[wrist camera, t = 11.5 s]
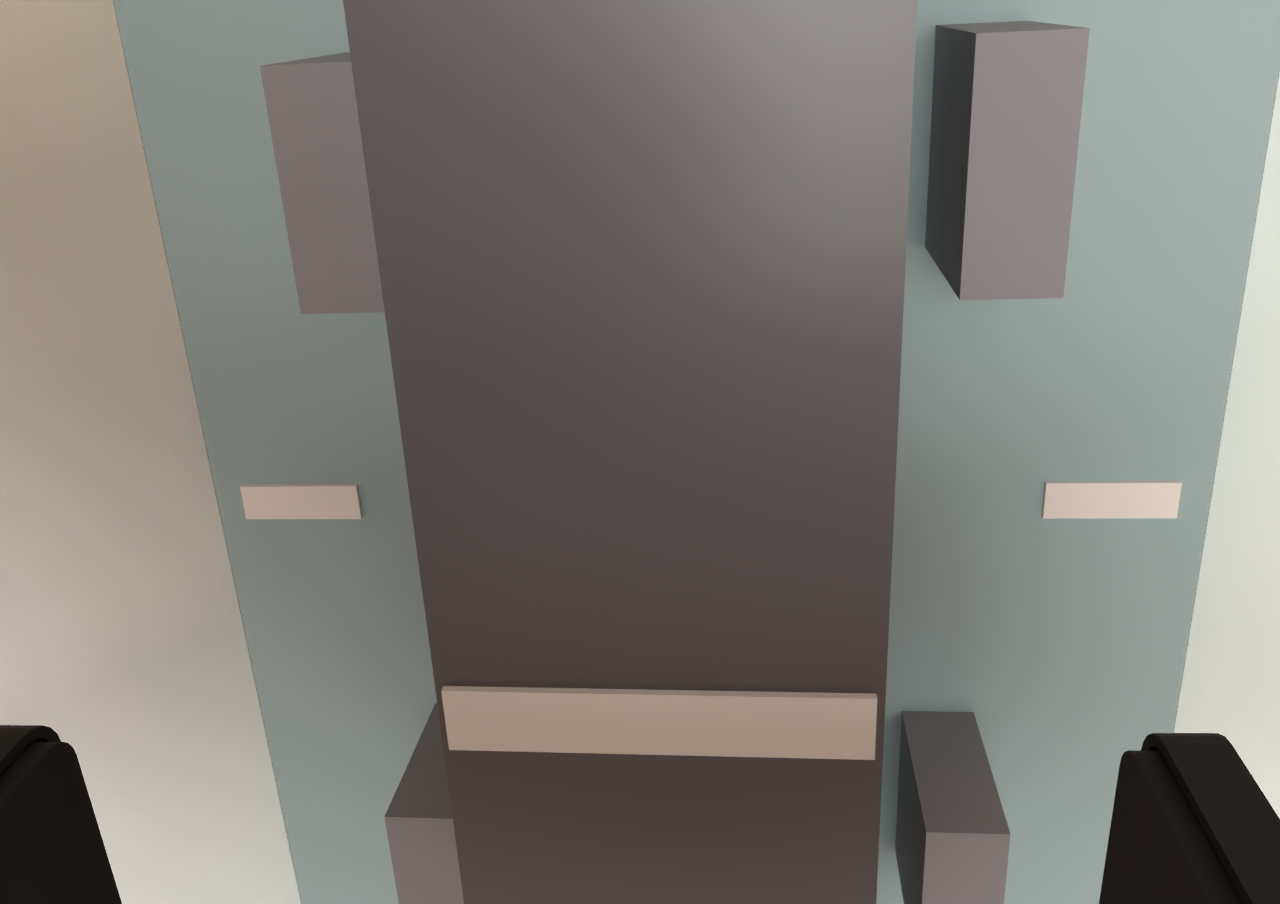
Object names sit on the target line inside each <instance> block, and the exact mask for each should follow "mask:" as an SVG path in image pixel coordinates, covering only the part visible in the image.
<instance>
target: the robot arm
mask: <svg viewBox="0 0 1280 904" xmlns="http://www.w3.org/2000/svg"><path fill="white" fill-rule="evenodd" d="M0 904H122V903H121V899H120V896H119V893H118V890H117V886H116V883H115V880H114V876H113V873H112V870H111V867H110V863H109V860H108V857H107V854H106V850H105V847H104V844H103V840H102V837H101V834H100V831H99V827H98V824H97V821H96V817H95V814H94V811H93V808H92V804H91V801H90V798H89V794H88V791H87V788H86V785H85V781H84V778H83V775H82V772H81V768H80V765H79V762H78V758H77V755H76V753H75V751H74V749H73V747H72V746H70V745H69V744H68V743H65V742H61V741H60V739H59V736H58V734H57V733H56V732H55V731H54V730H52V729H51V728H50V727H46V726H18V725H0ZM1099 904H1280V819H1279V818H1278V816H1277V814H1276V813H1275V811H1274V810H1273V808H1272V807H1271V805H1270V803H1269V802H1268V800H1267V799H1266V797H1265V796H1264V794H1263V793H1262V791H1261V789H1260V788H1259V786H1258V785H1257V783H1256V782H1255V780H1254V779H1253V777H1252V775H1251V774H1250V772H1249V771H1248V769H1247V768H1246V766H1245V765H1244V763H1243V761H1242V760H1241V758H1240V757H1239V755H1238V754H1237V752H1236V751H1235V749H1234V747H1233V746H1232V744H1231V743H1230V742H1229V741H1228V740H1227V739H1226V737H1225V736H1222V735H1220V734H1214V733H1151V734H1149V735H1147V736H1146V738H1145V740H1144V741H1143V744H1142V748H1141V751H1133V750H1128V751H1126V752H1124V754H1123V755H1122V757H1121V761H1120V766H1119V772H1118V779H1117V786H1116V792H1115V799H1114V806H1113V812H1112V819H1111V826H1110V833H1109V839H1108V846H1107V853H1106V859H1105V866H1104V873H1103V879H1102V886H1101V893H1100V899H1099Z"/></svg>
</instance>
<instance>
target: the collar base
mask: <svg viewBox="0 0 1280 904" xmlns="http://www.w3.org/2000/svg"><path fill="white" fill-rule="evenodd" d="M113 3H114V8H115V13H116V18H117V22H118V27H119V32H120V37H121V42H122V46H123V51H124V56H125V61H126V66H127V70H128V75H129V80H130V85H131V89H132V94H133V99H134V104H135V109H136V113H137V118H138V123H139V128H140V133H141V137H142V142H143V147H144V152H145V157H146V161H147V166H148V171H149V176H150V181H151V185H152V190H153V195H154V200H155V205H156V209H157V214H158V219H159V224H160V229H161V233H162V238H163V243H164V248H165V253H166V257H167V262H168V267H169V272H170V277H171V281H172V286H173V291H174V296H175V301H176V305H177V310H178V315H179V320H180V325H181V329H182V334H183V339H184V344H185V349H186V353H187V358H188V363H189V368H190V373H191V377H192V382H193V387H194V392H195V396H196V401H197V406H198V411H199V416H200V420H201V425H202V430H203V435H204V440H205V444H206V449H207V454H208V459H209V464H210V468H211V473H212V478H213V483H214V488H215V492H216V497H217V502H218V507H219V512H220V516H221V521H222V526H223V531H224V536H225V540H226V545H227V550H228V555H229V560H230V564H231V569H232V574H233V579H234V584H235V588H236V593H237V598H238V603H239V608H240V612H241V617H242V622H243V627H244V632H245V636H246V641H247V646H248V651H249V656H250V660H251V665H252V670H253V675H254V680H255V684H256V689H257V694H258V699H259V703H260V708H261V713H262V718H263V723H264V727H265V732H266V737H267V742H268V747H269V751H270V756H271V761H272V766H273V771H274V775H275V780H276V785H277V790H278V795H279V799H280V804H281V809H282V814H283V819H284V823H285V828H286V833H287V838H288V843H289V847H290V852H291V857H292V862H293V867H294V871H295V876H296V881H297V886H298V891H299V895H300V900H301V904H464V899H463V892H462V884H461V877H460V869H459V862H458V855H457V847H456V840H455V832H454V825H453V817H452V810H451V802H450V795H449V787H448V780H447V773H446V765H445V758H444V750H443V743H442V735H441V728H440V720H439V713H438V705H437V698H436V691H435V683H434V676H433V668H432V661H431V653H430V646H429V638H428V631H427V623H426V616H425V609H424V601H423V594H422V586H421V579H420V571H419V564H418V556H417V549H416V541H415V534H414V527H413V519H412V512H411V504H410V497H409V489H408V482H407V474H406V467H405V459H404V452H403V445H402V437H401V430H400V422H399V415H398V407H397V400H396V392H395V385H394V377H393V370H392V363H391V355H390V348H389V340H388V333H387V325H386V318H385V310H384V303H383V295H382V288H381V281H380V273H379V266H378V258H377V251H376V243H375V236H374V228H373V221H372V213H371V206H370V199H369V191H368V184H367V176H366V169H365V161H364V154H363V146H362V139H361V132H360V124H359V117H358V109H357V102H356V94H355V87H354V79H353V72H352V64H351V57H350V50H349V42H348V35H347V27H346V20H345V12H344V5H343V0H113ZM1279 72H1280V0H918V4H917V25H916V47H915V69H914V91H913V113H912V134H911V156H910V178H909V200H908V222H907V243H906V265H905V287H904V309H903V331H902V352H901V374H900V396H899V418H898V440H897V461H896V483H895V505H894V527H893V549H892V571H891V592H890V614H889V636H888V658H887V679H886V701H885V723H884V745H883V767H882V788H881V810H880V832H879V854H878V876H877V898H876V904H1099V899H1100V893H1101V886H1102V879H1103V873H1104V866H1105V859H1106V853H1107V846H1108V839H1109V833H1110V826H1111V819H1112V812H1113V806H1114V799H1115V792H1116V786H1117V779H1118V772H1119V766H1120V761H1121V757H1122V755H1123V754H1124V752H1126V751H1128V750H1133V751H1141V748H1142V744H1143V741H1144V740H1145V738H1146V736H1147V735H1149V734H1151V733H1174V727H1175V721H1176V714H1177V708H1178V702H1179V696H1180V689H1181V683H1182V677H1183V671H1184V664H1185V658H1186V652H1187V646H1188V640H1189V633H1190V627H1191V621H1192V615H1193V608H1194V602H1195V596H1196V590H1197V583H1198V577H1199V571H1200V565H1201V558H1202V552H1203V546H1204V540H1205V534H1206V527H1207V521H1208V515H1209V509H1210V502H1211V496H1212V490H1213V484H1214V477H1215V471H1216V465H1217V459H1218V452H1219V446H1220V440H1221V434H1222V427H1223V421H1224V415H1225V409H1226V403H1227V396H1228V390H1229V384H1230V378H1231V371H1232V365H1233V359H1234V353H1235V346H1236V340H1237V334H1238V328H1239V321H1240V315H1241V309H1242V303H1243V296H1244V290H1245V284H1246V278H1247V272H1248V265H1249V259H1250V253H1251V247H1252V240H1253V234H1254V228H1255V222H1256V215H1257V209H1258V203H1259V197H1260V190H1261V184H1262V178H1263V172H1264V165H1265V159H1266V153H1267V147H1268V141H1269V134H1270V128H1271V122H1272V116H1273V109H1274V103H1275V97H1276V91H1277V84H1278V78H1279Z"/></svg>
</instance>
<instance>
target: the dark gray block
mask: <svg viewBox="0 0 1280 904" xmlns="http://www.w3.org/2000/svg"><path fill="white" fill-rule="evenodd" d="M917 4H918V0H343V5H344V12H345V20H346V27H347V35H348V42H349V50H350V57H351V64H352V72H353V79H354V87H355V94H356V102H357V109H358V117H359V124H360V132H361V139H362V146H363V154H364V161H365V169H366V176H367V184H368V191H369V199H370V206H371V213H372V221H373V228H374V236H375V243H376V251H377V258H378V266H379V273H380V281H381V288H382V295H383V303H384V310H385V318H386V325H387V333H388V340H389V348H390V355H391V363H392V370H393V377H394V385H395V392H396V400H397V407H398V415H399V422H400V430H401V437H402V445H403V452H404V459H405V467H406V474H407V482H408V489H409V497H410V504H411V512H412V519H413V527H414V534H415V541H416V549H417V556H418V564H419V571H420V579H421V586H422V594H423V601H424V609H425V616H426V623H427V631H428V638H429V646H430V653H431V661H432V668H433V676H434V683H435V691H436V698H437V705H438V713H439V720H440V728H441V735H442V743H443V750H444V758H445V765H446V773H447V780H448V787H449V795H450V802H451V810H452V817H453V825H454V832H455V840H456V847H457V855H458V862H459V869H460V877H461V884H462V892H463V899H464V904H876V898H877V876H878V854H879V832H880V810H881V788H882V767H883V745H884V723H885V701H886V679H887V658H888V636H889V614H890V592H891V571H892V549H893V527H894V505H895V483H896V461H897V440H898V418H899V396H900V374H901V352H902V331H903V309H904V287H905V265H906V243H907V222H908V200H909V178H910V156H911V134H912V113H913V91H914V69H915V47H916V25H917Z"/></svg>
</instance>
